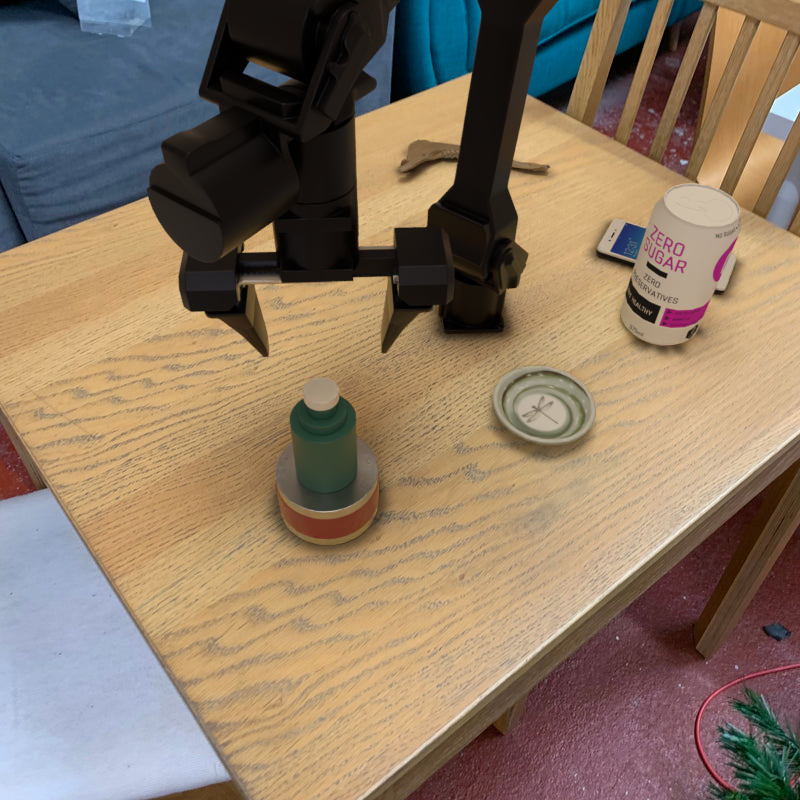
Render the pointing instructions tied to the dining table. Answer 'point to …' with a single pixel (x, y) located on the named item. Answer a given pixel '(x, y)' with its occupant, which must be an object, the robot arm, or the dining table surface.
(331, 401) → the bottle
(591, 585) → the dining table surface
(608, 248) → the smartphone
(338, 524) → the tin
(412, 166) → the jawbone
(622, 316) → the supplement can
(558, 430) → the saucer
